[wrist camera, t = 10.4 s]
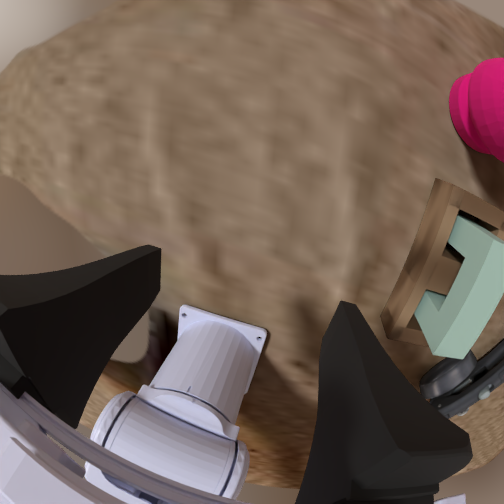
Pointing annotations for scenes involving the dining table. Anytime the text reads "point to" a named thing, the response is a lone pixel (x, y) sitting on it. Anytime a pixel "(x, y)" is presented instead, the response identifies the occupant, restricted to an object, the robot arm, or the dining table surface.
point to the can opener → (463, 381)
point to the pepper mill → (480, 107)
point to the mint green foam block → (464, 292)
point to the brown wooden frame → (434, 258)
